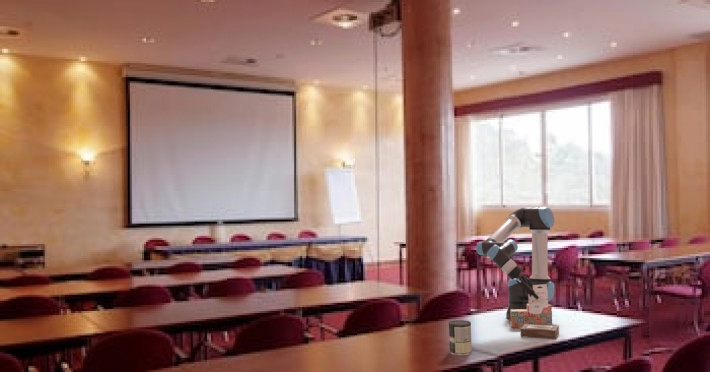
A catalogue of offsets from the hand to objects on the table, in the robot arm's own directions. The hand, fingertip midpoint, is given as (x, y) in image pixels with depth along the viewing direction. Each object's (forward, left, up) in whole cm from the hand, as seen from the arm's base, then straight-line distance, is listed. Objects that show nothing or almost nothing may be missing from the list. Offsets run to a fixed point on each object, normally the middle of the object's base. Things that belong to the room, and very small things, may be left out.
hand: (544, 301), depth 323 cm
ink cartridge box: (0, -3, -6) cm, 7 cm away
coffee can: (+47, -32, -17) cm, 59 cm away
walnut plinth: (0, -3, -17) cm, 17 cm away
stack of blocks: (-20, -11, -18) cm, 28 cm away
